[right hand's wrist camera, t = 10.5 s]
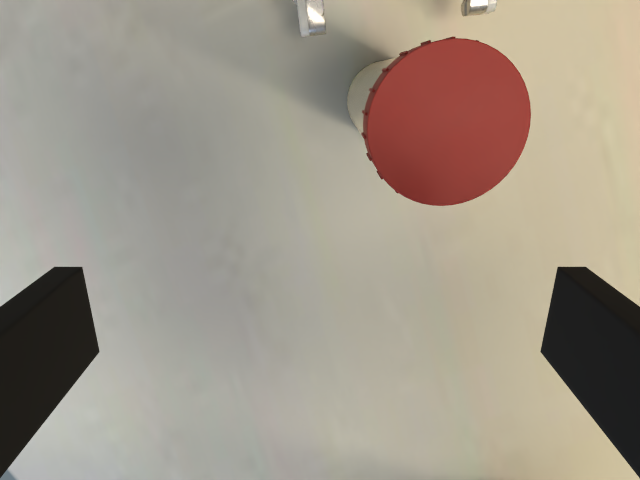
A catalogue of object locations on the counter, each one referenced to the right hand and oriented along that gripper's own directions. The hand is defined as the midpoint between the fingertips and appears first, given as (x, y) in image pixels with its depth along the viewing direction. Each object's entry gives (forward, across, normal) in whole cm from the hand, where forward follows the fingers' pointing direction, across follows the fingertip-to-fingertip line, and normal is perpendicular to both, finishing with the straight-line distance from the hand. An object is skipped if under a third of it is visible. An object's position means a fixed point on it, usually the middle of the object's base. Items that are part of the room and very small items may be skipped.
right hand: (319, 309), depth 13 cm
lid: (+6, +5, +4) cm, 9 cm away
